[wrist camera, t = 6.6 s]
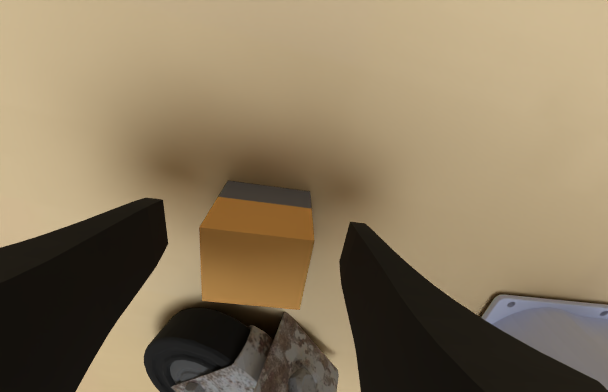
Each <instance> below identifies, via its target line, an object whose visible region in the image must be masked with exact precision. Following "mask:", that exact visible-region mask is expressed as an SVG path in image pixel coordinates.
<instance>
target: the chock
mask: <svg viewBox="0 0 608 392" xmlns="http://www.w3.org/2000/svg"><path fill="white" fill-rule="evenodd" d="M199 230H200V256H201V282H202V301H209V302H220V303H231V304H242V305H253V306H264V307H274V308H285V309H296V310H300V305H301V300H302V296H303V291H304V286H305V282H306V277H307V273H308V268H309V263H310V259H311V254H312V249H313V245H314V231H313V219H312V207H311V195H310V191H302V190H295V189H287V188H280V187H272V186H265V185H257V184H250V183H242V182H235V181H227V183H226V185H225V186H224V188H223V190H222V191H221V193H220V194H219V196H218V198H217V199H216V201H215V203H214V204H213V206H212V208H211V209H210V211H209V212H208V214H207V216H206V217H205V219H204V221H203V222H202V224H201V226H200V227H199Z"/></svg>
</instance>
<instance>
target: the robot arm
mask: <svg viewBox="0 0 608 392" xmlns="http://www.w3.org/2000/svg"><path fill="white" fill-rule="evenodd" d="M167 245H168V238H167V230H166V222H165V213H164V205H163V200H161V199H152V198H144V199H140V200H137V201H134V202H131V203H128V204H126V205H123V206H120V207H118V208H115V209H113V210H110V211H107V212H105V213H102V214H100V215H97V216H94V217H92V218H89V219H87V220H84V221H81V222H78V223H75V224H73V225H70V226H67V227H64V228H61V229H59V230H56V231H53V232H50V233H47V234H44V235H41V236H38V237H35V238H32V239H29V240H26V241H22V242H19V243H15V244H12V245H9V246H5V247H2V248H0V392H75V391H76V390H77V388H78V386H79V384H80V382H81V381H82V379H83V377H84V375H85V373H86V372H87V370H88V368H89V366H90V364H91V363H92V361H93V359H94V358H95V356H96V354H97V352H98V351H99V349H100V347H101V346H102V344H103V342H104V341H105V339H106V337H107V335H108V334H109V332H110V331H111V329H112V328H113V326H114V325H115V323H116V322H117V320H118V319H119V317H120V316H121V315H122V313H123V312H124V311H125V309H126V308H127V306H128V305H129V304H130V302H131V301H132V300H133V298H134V297H135V295H136V294H137V293H138V291H139V290H140V288H141V287H142V286H143V284H144V283H145V282H146V280H147V279H148V277H149V276H150V274H151V273H152V272H153V270H154V269H155V267H156V266H157V264H158V262H159V260H160V258H161V257H162V255H163V253H164V251H165V249H166V247H167ZM339 262H340V275H341V285H342V289H343V294H344V299H345V303H346V308H347V312H348V316H349V321H350V325H351V330H352V334H353V338H354V344H355V349H356V355H357V363H358V371H359V379H360V387H361V392H608V305H605V304H595V303H585V302H575V301H565V300H554V299H544V298H534V297H524V296H514V295H498V296H496V297H495V298H494V299H493V301H492V302H491V304H490V305H489V307H488V308H487V310H486V311H485V313H484V314H483V315H482V317H479V316H478V315H476V314H475V313H473V312H471V311H470V310H468V309H467V308H465V307H464V306H462V305H461V304H459V303H458V302H456V301H455V300H453V299H452V298H451V297H449V296H448V295H446V294H445V293H444V292H442V291H441V290H440V289H438V288H437V287H436V286H434V285H433V284H432V283H430V282H429V281H428V280H427V279H425V278H424V277H423V276H422V275H420V274H419V273H418V272H417V271H416V270H415V269H413V268H412V267H411V266H410V265H409V264H408V263H406V262H405V261H404V260H403V259H402V258H401V257H400V256H399V255H398V254H397V253H396V252H394V251H393V250H392V249H391V248H390V247H389V246H388V245H387V244H386V243H385V242H384V241H383V240H382V239H381V238H380V237H379V236H378V235H377V234H376V233H375V232H374V231H373V230H372V229H371V228H370V227H369V226H367V225H366V224H364V223H356V222H350V224H349V228H348V232H347V235H346V239H345V243H344V247H343V250H342V254H341V258H340V261H339Z"/></svg>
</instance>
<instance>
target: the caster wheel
mask: <svg viewBox="0 0 608 392" xmlns="http://www.w3.org/2000/svg"><path fill="white" fill-rule="evenodd" d="M144 365H145V368H146V371H147V374H148V376H149V378H150V379H151V381H152V383H153V384H154V385H155V387H156V388H157V389H158V390H159V391H160V392H337V384H338V370H337V369H336V367H335V366H334V365H333V364H332V363H331V362H330V361H329V359H328V358H327V357H326V356H325V355H324V354H323V352H322V351H321V350H320V349H319V348H318V347H317V346H316V344H315V343H314V342H313V341H312V340H311V339H310V338H309V336H308V335H307V334H306V333H305V332H304V331H303V329H302V328H301V327H300V326H299V325H298V324H297V323H296V321H295V320H294V319H293V318H292V317H291V316H290V315H289V314H288V313H286V312H284V314H283V317H282V320H281V322H280V325H279V327H278V330H277V333H276V335H275V338H274V340H273V339H272V338H271V337H270V336H269V335H268V334H266V333H265V332H264V331H262V330H261V329H259V328H257V327H255V326H253V325H250V326H245V325H244V324H243V323H241V322H240V321H238V320H237V319H235V318H233V317H231V316H229V315H226V314H224V313H221V312H219V311H215V310H210V309H205V308H191V309H186V310H183V311H181V312H179V313H177V314H176V315H175V316H173V317H172V318H171V320H170V321H169V322H168V323H167V324H166V325H165V326H164V328H163V329H162V330H161V331H160V332H159V333H158V335H157V336H156V337H155V338H154V339H153V340H152V342H151V343H150V344H149V345H148V347H147V348H146V350H145V354H144Z"/></svg>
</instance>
